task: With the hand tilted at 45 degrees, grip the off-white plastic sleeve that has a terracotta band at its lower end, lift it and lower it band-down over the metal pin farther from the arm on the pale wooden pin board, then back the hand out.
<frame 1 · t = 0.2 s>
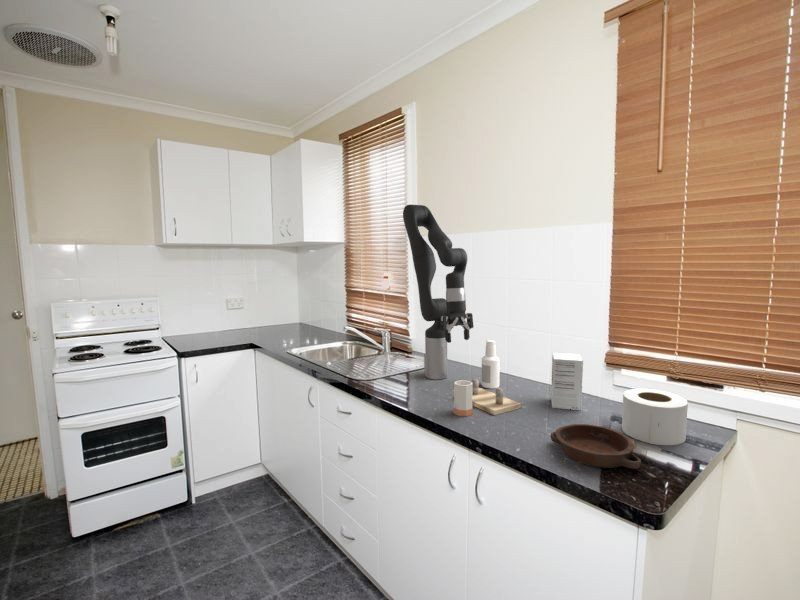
hand: (457, 341, 162), 18 cm above the worktop, tool pointing down, fingers open, 8 cm apart
sleeve: (463, 412, 135), on the worktop
pin board: (486, 402, 144), on the worktop
dish: (592, 456, 105), on the worktop
spray bottle: (490, 386, 162), on the worktop
supplement box: (565, 405, 141), on the worktop
white paper roll: (652, 434, 118), on the worktop
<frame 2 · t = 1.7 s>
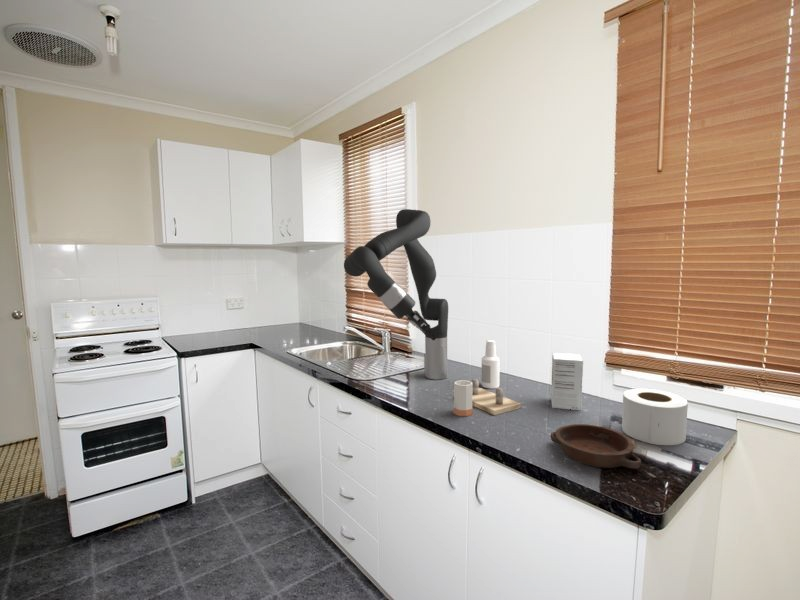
hand: (432, 336, 131), 26 cm above the worktop, tool tilted 45°, fingers open, 8 cm apart
nothing on the worktop moved.
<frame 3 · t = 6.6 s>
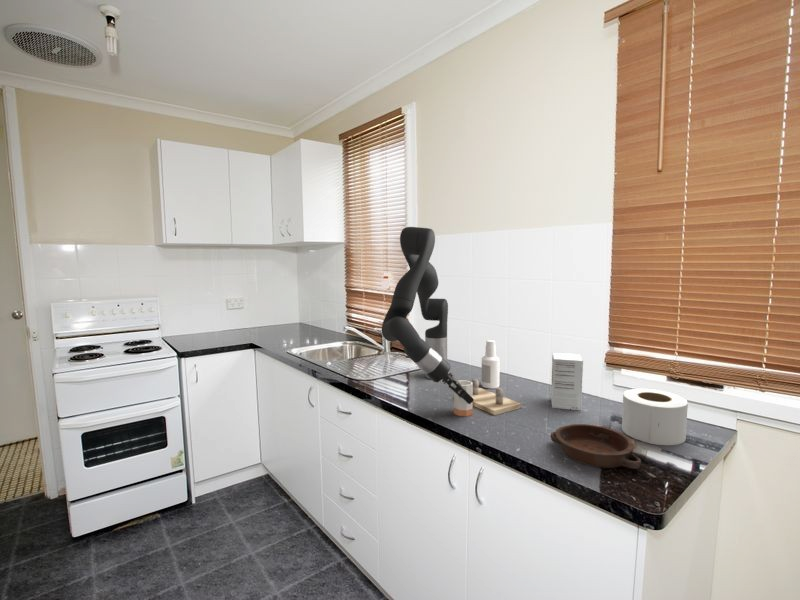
hand: (468, 398, 134), 5 cm above the worktop, tool tilted 45°, fingers closed on sleeve, 6 cm apart
sleeve: (463, 412, 135), on the worktop, touching gripper
everything else where it was.
when the fingers open (8 cm above the worktop, at t = 13.1 s): sleeve drops 1 cm, resting on pin board.
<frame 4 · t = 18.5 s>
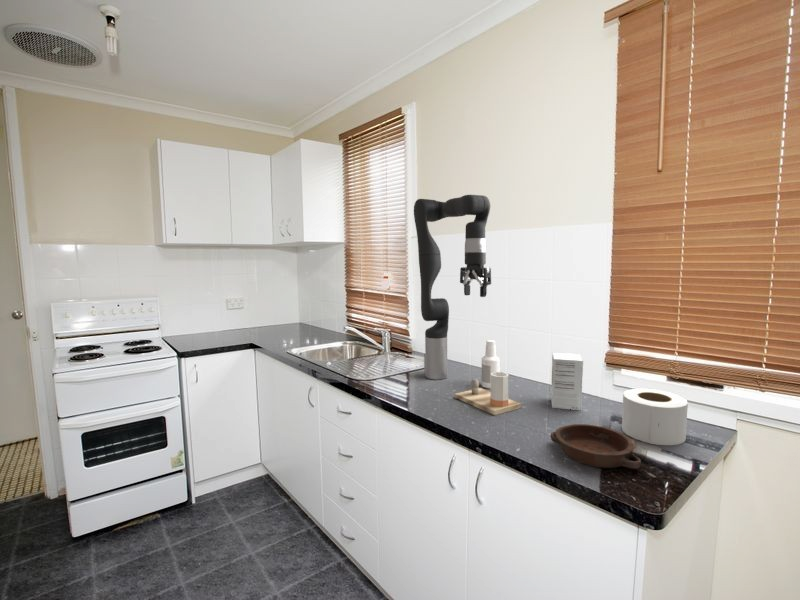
hand: (474, 296, 152), 36 cm above the worktop, tool pointing down, fingers open, 8 cm apart
sleeve: (499, 403, 138), point 1 cm above the worktop, touching pin board
everything else where it was.
at the end: sleeve 0.1 cm from the target spot on the pin board, point 1.5 cm above the pin board's base; sleeve tilted 0°; the gripper is holding nothing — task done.
